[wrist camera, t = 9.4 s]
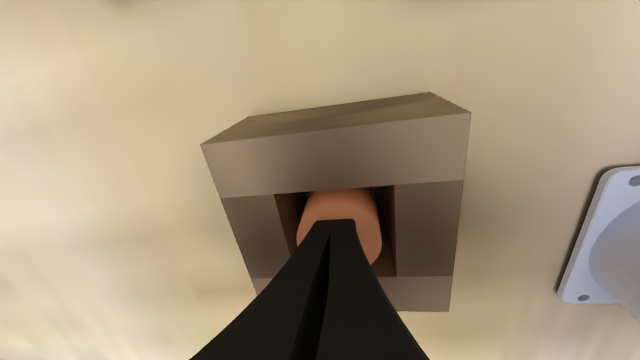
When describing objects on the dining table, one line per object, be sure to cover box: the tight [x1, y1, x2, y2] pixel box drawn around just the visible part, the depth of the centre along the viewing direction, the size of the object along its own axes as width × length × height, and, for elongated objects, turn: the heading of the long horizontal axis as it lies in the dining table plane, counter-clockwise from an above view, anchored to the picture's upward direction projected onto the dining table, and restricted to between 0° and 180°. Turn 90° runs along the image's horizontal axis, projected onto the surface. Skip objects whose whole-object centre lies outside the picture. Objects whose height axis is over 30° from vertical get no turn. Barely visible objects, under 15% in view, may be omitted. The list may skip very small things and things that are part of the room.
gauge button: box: [296, 187, 382, 265], centre depth 10 cm, size 3×3×4 cm
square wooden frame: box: [200, 92, 471, 312], centre depth 11 cm, size 8×8×4 cm
